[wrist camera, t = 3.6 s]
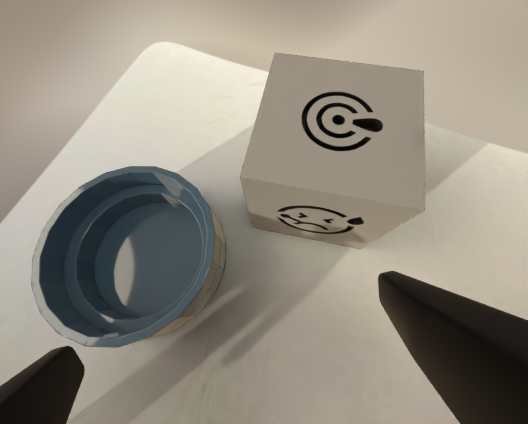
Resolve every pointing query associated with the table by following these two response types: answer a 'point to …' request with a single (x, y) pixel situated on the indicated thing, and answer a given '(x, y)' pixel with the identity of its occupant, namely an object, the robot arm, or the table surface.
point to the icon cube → (336, 150)
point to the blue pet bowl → (127, 258)
